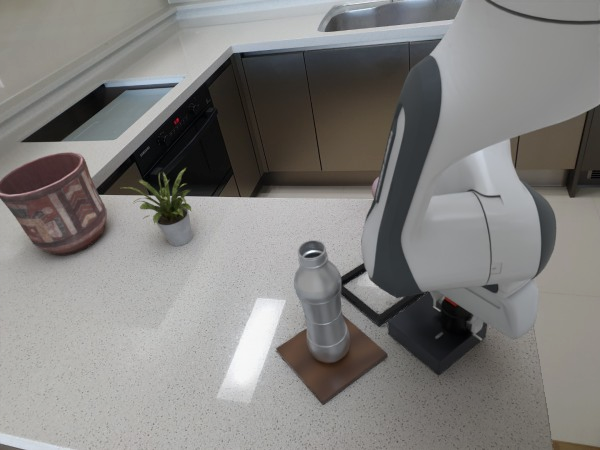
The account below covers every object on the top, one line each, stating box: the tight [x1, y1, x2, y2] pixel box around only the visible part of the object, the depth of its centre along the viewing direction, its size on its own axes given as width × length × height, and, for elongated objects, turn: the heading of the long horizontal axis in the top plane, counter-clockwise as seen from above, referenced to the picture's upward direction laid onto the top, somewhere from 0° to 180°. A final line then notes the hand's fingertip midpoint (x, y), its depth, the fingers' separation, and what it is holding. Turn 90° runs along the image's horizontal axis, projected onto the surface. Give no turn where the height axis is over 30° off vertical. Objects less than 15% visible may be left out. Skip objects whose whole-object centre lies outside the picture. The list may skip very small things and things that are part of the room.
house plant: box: [121, 167, 194, 247], centre depth 95 cm, size 14×14×16 cm
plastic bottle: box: [293, 239, 350, 363], centre depth 63 cm, size 6×7×20 cm
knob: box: [441, 297, 473, 334], centre depth 66 cm, size 4×4×4 cm
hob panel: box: [387, 292, 488, 376], centre depth 68 cm, size 11×11×3 cm
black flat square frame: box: [341, 262, 428, 327], centre depth 79 cm, size 12×12×1 cm
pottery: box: [0, 151, 108, 256], centre depth 101 cm, size 18×18×18 cm
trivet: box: [275, 314, 388, 405], centre depth 69 cm, size 12×12×1 cm
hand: (457, 317), depth 66 cm, fingers closed on knob, 4 cm apart
